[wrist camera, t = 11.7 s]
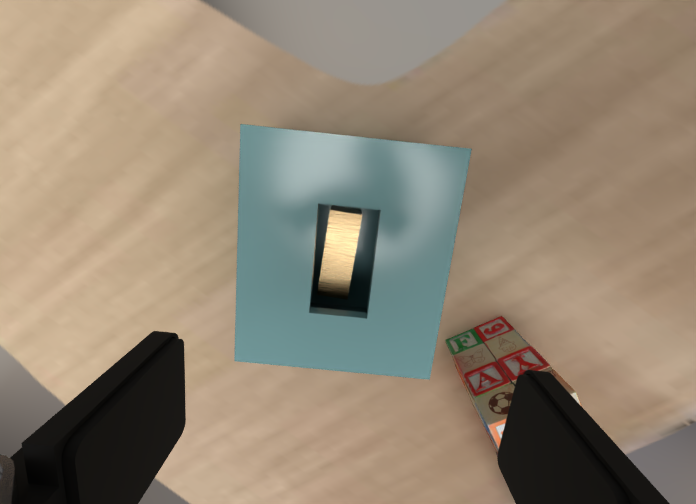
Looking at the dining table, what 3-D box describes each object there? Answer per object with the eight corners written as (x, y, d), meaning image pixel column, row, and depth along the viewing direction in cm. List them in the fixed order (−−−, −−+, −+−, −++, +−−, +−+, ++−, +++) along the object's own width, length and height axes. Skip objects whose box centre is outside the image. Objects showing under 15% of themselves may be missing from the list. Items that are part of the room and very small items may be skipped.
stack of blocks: (566, 471, 40) (658, 605, 28) (513, 491, 40) (581, 628, 29) (501, 313, 35) (579, 392, 23) (442, 338, 36) (488, 427, 24)
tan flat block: (347, 279, 34) (360, 206, 32) (347, 299, 29) (362, 215, 27) (321, 275, 33) (333, 202, 32) (316, 294, 29) (330, 209, 27)
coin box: (433, 152, 31) (471, 148, 21) (407, 319, 35) (429, 379, 25) (275, 135, 31) (240, 124, 21) (266, 305, 35) (234, 360, 25)
